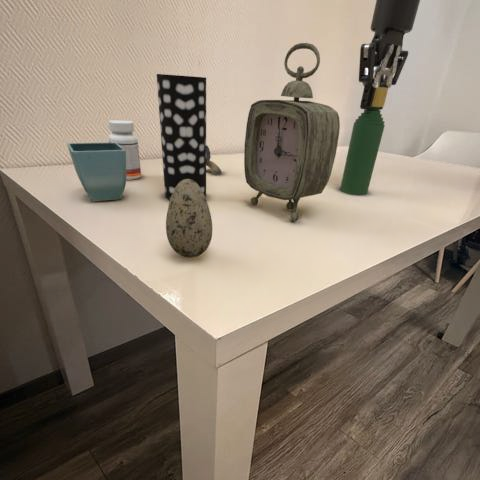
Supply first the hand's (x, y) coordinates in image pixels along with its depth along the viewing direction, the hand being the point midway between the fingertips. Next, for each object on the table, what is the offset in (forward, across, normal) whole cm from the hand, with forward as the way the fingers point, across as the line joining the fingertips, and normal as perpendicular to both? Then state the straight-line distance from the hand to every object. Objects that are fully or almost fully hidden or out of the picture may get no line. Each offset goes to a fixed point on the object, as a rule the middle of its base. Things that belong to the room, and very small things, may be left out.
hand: (371, 108), depth 70 cm
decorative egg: (+17, -52, -10) cm, 56 cm away
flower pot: (+17, -52, +21) cm, 58 cm away
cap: (0, 0, 0) cm, 1 cm away
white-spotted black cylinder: (+17, -37, +14) cm, 43 cm away
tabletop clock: (+17, -26, -2) cm, 31 cm away
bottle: (+17, 0, 0) cm, 17 cm away
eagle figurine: (+17, -21, +32) cm, 41 cm away
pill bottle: (+17, -41, +34) cm, 56 cm away
